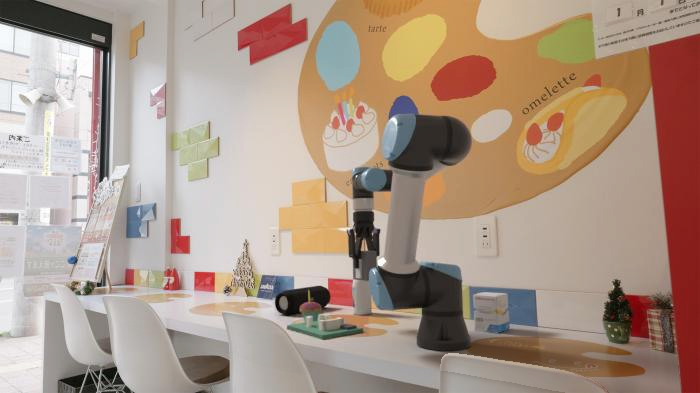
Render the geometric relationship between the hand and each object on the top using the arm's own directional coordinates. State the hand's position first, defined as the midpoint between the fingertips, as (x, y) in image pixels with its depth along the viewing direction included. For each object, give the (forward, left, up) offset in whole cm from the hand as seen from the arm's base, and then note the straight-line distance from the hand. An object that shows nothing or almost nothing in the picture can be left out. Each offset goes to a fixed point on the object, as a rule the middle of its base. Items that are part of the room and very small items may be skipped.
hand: (364, 277), depth 157 cm
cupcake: (+23, +8, -17) cm, 30 cm away
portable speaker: (+44, -2, -17) cm, 47 cm away
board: (+5, +14, -17) cm, 23 cm away
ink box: (-32, -27, -17) cm, 45 cm away
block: (0, 0, -1) cm, 1 cm away
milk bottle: (+22, -16, -17) cm, 32 cm away
